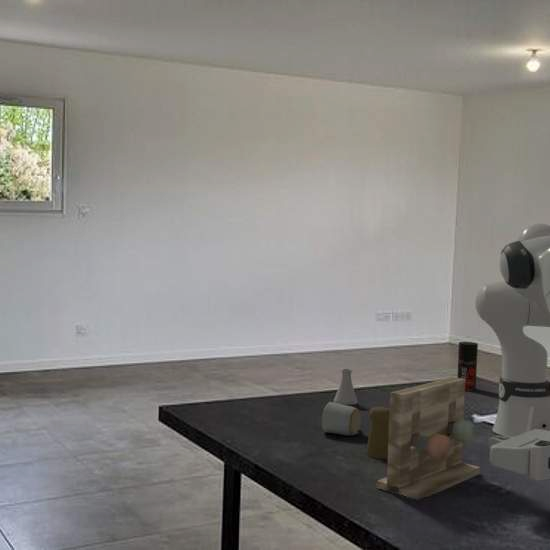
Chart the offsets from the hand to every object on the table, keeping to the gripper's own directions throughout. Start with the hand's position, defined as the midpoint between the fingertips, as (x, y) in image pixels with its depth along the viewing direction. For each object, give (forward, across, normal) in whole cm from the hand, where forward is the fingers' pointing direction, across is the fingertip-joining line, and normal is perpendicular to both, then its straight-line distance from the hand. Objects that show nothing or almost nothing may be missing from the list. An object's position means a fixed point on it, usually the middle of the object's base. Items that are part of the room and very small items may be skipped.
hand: (491, 440), depth 161 cm
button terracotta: (+8, +11, +3) cm, 14 cm away
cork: (+30, -4, +10) cm, 32 cm away
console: (+12, +4, +10) cm, 16 cm away
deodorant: (+53, -85, +10) cm, 101 cm away
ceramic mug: (+48, -13, +10) cm, 50 cm away
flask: (+67, -39, +10) cm, 78 cm away
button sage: (+11, -3, +3) cm, 12 cm away
